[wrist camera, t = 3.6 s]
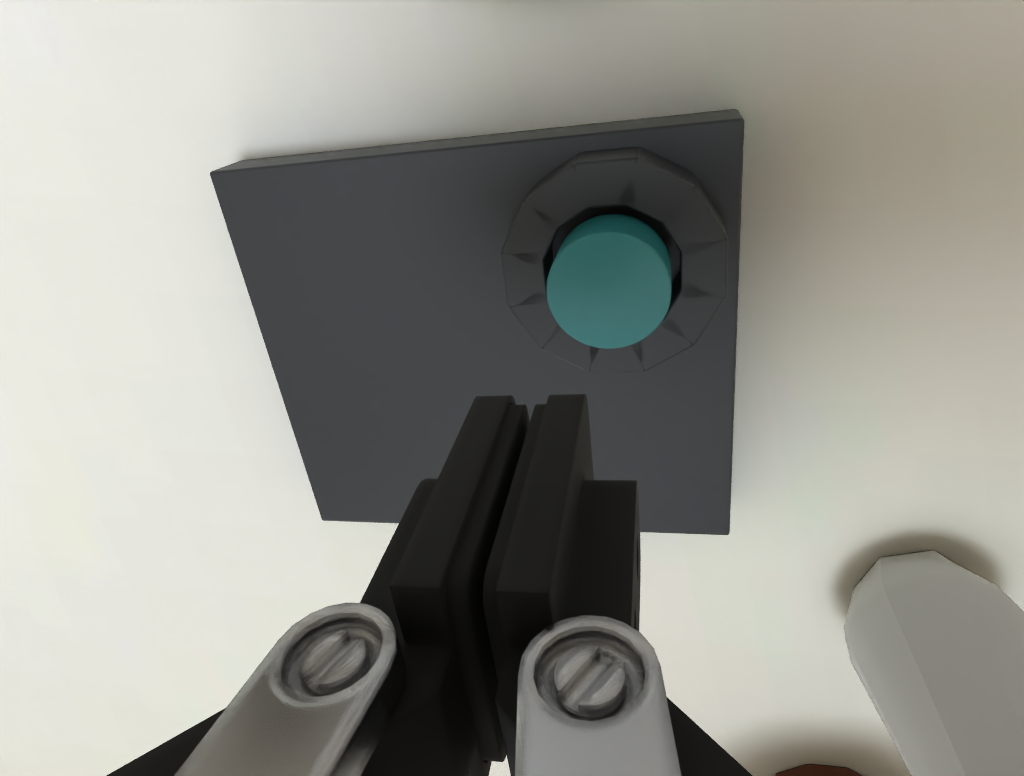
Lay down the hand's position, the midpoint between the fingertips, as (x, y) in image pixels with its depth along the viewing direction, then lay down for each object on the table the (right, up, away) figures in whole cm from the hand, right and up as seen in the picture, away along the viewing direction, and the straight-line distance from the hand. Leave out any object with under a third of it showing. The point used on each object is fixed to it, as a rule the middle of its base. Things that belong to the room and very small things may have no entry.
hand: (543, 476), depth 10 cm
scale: (-1, +3, +14) cm, 14 cm away
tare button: (+2, +5, +8) cm, 10 cm away
